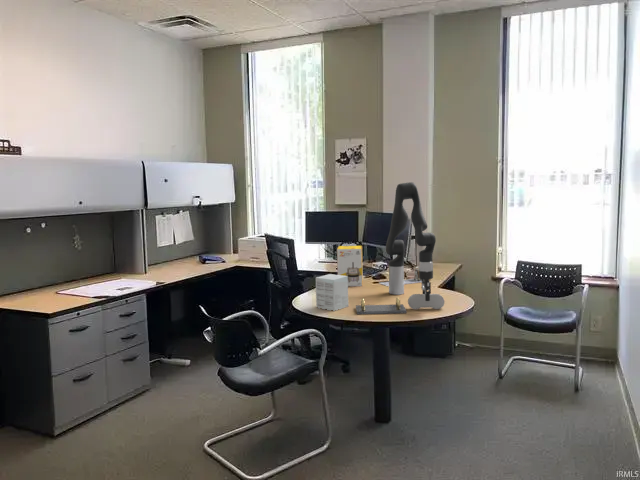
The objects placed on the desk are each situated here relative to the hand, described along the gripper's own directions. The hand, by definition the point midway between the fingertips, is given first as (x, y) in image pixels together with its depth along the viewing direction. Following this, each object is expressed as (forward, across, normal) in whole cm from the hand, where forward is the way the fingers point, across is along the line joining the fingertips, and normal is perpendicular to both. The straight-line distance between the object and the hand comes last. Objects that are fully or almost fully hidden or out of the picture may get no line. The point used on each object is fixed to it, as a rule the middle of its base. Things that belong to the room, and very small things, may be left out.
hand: (426, 299), depth 289 cm
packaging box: (+4, -73, -38) cm, 83 cm away
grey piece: (+6, 0, 0) cm, 6 cm away
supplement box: (+5, -8, -51) cm, 52 cm away
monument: (+5, -74, -2) cm, 74 cm away
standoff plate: (+5, +2, -25) cm, 26 cm away
